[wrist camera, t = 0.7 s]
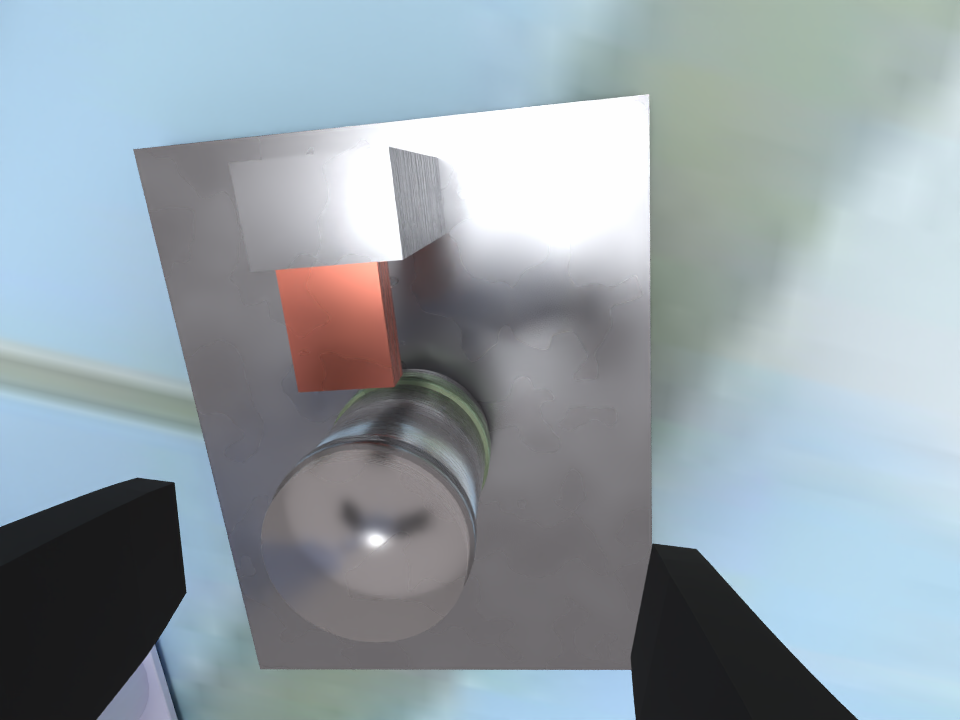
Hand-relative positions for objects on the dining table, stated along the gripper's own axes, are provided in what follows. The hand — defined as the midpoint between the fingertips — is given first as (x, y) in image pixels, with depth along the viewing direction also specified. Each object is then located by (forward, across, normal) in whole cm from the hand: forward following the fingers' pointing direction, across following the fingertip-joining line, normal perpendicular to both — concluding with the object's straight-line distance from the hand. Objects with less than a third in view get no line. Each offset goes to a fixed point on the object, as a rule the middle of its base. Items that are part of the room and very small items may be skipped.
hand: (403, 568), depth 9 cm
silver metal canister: (+9, +2, +2) cm, 9 cm away
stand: (+10, +2, +2) cm, 11 cm away
